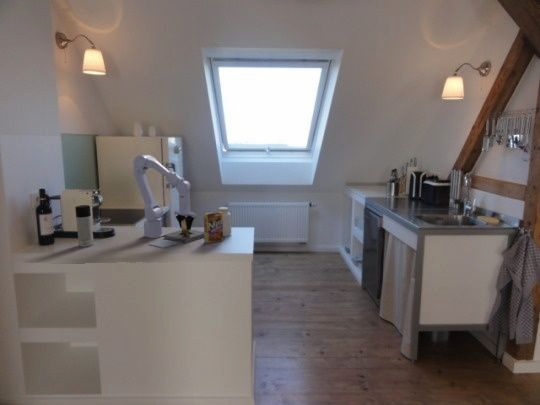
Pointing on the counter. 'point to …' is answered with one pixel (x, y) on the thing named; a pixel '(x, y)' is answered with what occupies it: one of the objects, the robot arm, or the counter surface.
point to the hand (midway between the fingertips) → (185, 229)
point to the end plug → (184, 228)
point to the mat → (164, 243)
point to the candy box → (213, 227)
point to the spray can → (84, 225)
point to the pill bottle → (226, 221)
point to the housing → (185, 239)
